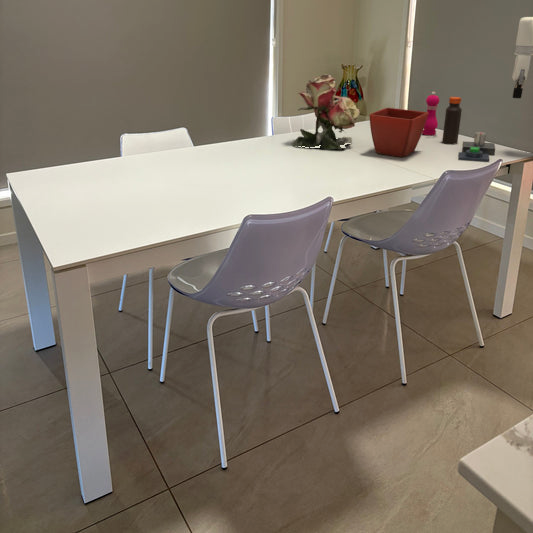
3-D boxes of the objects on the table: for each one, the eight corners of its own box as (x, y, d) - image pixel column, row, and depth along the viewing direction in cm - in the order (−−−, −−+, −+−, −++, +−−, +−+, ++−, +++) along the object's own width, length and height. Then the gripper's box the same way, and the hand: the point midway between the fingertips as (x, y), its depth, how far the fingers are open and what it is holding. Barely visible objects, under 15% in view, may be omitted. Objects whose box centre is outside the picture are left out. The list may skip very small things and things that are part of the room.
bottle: (460, 142, 270) (466, 97, 261) (452, 145, 265) (458, 99, 257) (446, 140, 274) (452, 96, 265) (439, 142, 269) (444, 97, 261)
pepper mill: (430, 136, 280) (435, 93, 272) (418, 133, 286) (422, 91, 277) (439, 134, 285) (444, 91, 276) (427, 131, 290) (432, 89, 281)
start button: (478, 151, 244) (479, 147, 244) (478, 153, 241) (479, 149, 240) (469, 150, 245) (470, 146, 245) (469, 153, 242) (470, 148, 241)
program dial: (473, 143, 255) (475, 131, 253) (484, 143, 254) (486, 131, 252) (473, 145, 252) (475, 133, 249) (484, 146, 250) (486, 133, 248)
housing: (488, 156, 247) (489, 149, 245) (489, 162, 239) (490, 155, 238) (458, 154, 250) (459, 147, 249) (458, 160, 242) (459, 153, 241)
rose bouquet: (355, 151, 255) (359, 80, 242) (289, 147, 262) (290, 77, 249) (362, 138, 278) (366, 72, 265) (301, 135, 285) (302, 70, 272)
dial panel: (493, 150, 257) (494, 142, 255) (494, 155, 248) (495, 148, 247) (462, 148, 260) (463, 140, 259) (462, 153, 252) (463, 146, 250)
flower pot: (424, 151, 256) (429, 111, 249) (408, 160, 242) (412, 119, 235) (384, 145, 266) (387, 107, 258) (365, 154, 251) (368, 114, 244)
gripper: (513, 48, 242) (505, 94, 249) (516, 52, 229) (508, 100, 237) (533, 49, 240) (524, 95, 247) (537, 52, 227) (528, 101, 235)
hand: (516, 97), depth 242 cm, fingers closed
